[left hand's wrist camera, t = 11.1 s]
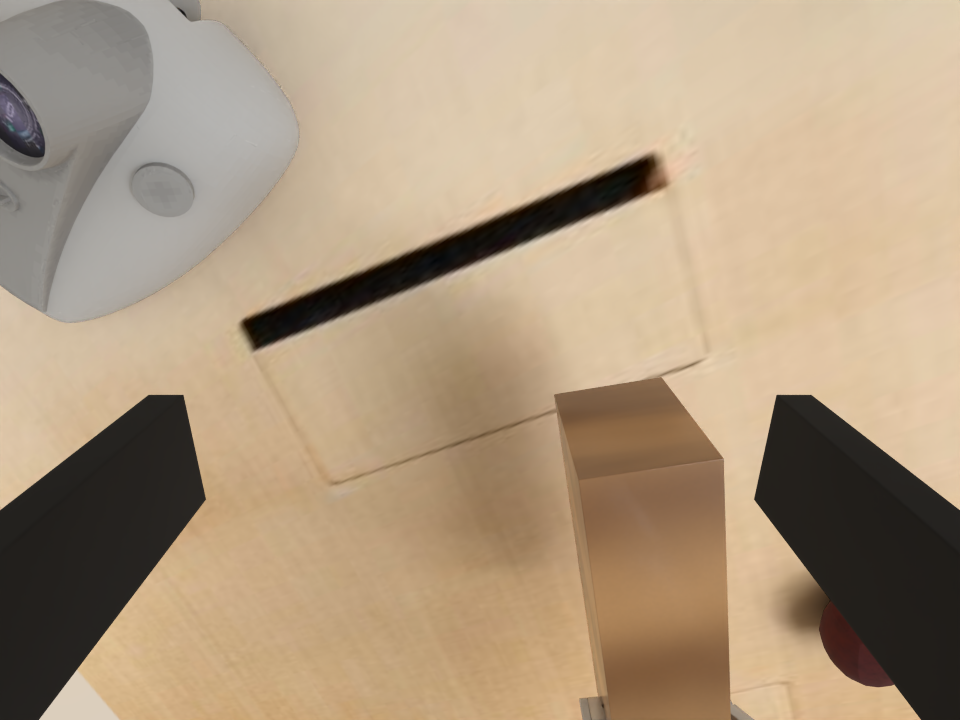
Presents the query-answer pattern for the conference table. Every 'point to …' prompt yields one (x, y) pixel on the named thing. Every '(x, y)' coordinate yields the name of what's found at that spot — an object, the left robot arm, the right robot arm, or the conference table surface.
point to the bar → (649, 550)
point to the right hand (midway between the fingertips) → (650, 696)
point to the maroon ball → (849, 650)
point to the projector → (126, 148)
